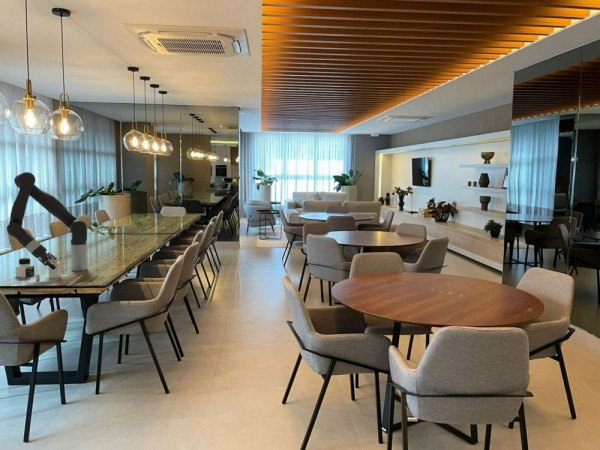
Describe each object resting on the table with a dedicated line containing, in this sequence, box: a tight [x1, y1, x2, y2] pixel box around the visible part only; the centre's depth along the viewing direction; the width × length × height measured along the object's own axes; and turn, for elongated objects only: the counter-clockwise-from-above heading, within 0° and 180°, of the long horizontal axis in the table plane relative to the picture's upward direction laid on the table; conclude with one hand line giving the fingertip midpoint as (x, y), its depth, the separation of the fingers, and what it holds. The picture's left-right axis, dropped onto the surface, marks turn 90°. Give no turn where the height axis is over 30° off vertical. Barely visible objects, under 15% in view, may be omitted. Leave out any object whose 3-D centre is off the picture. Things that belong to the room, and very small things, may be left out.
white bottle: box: [48, 259, 62, 278], centre depth 280 cm, size 5×5×10 cm
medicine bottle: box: [15, 257, 36, 278], centre depth 283 cm, size 7×7×12 cm
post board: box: [26, 273, 69, 283], centre depth 278 cm, size 19×15×5 cm
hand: (57, 267), depth 280 cm, fingers open, 8 cm apart
